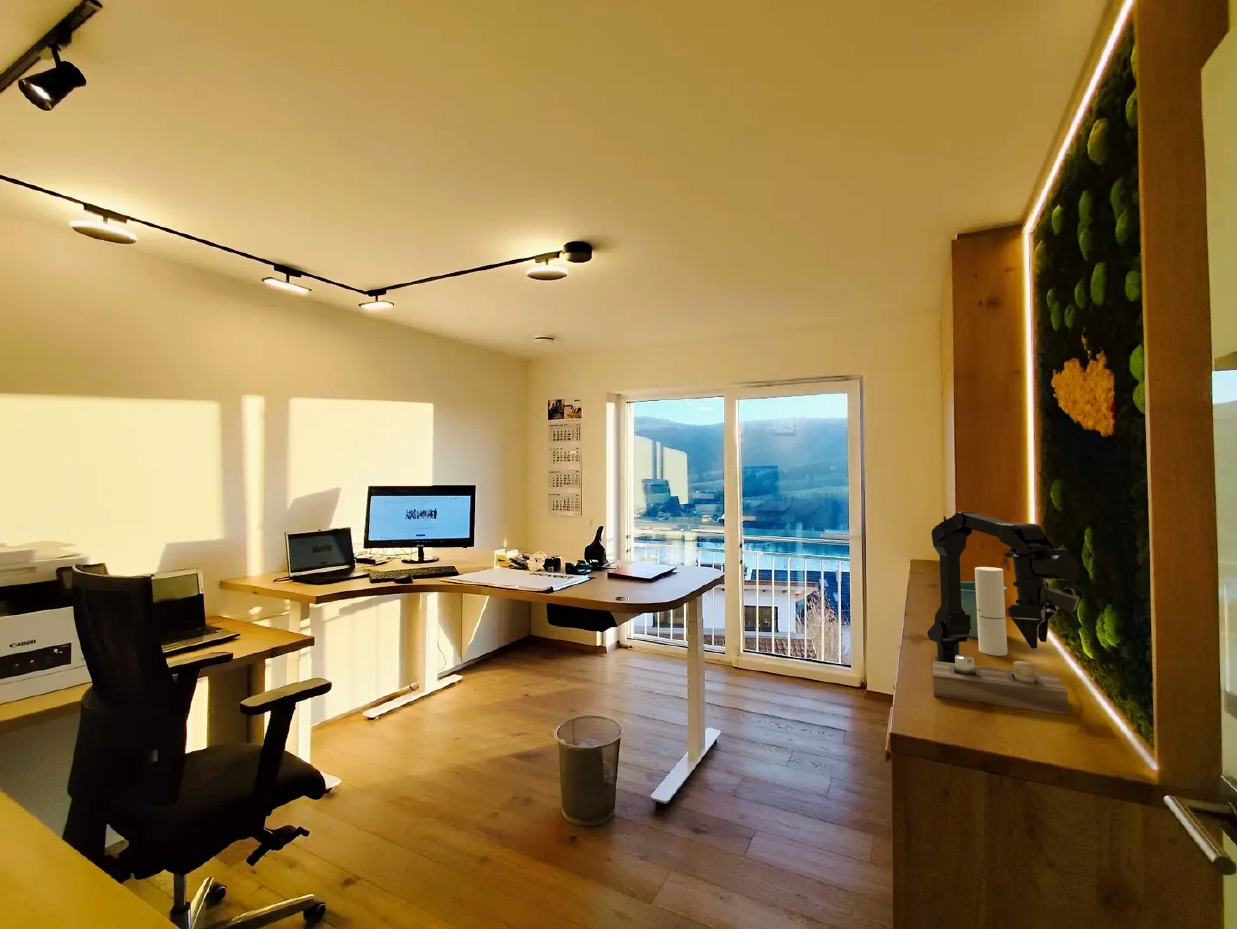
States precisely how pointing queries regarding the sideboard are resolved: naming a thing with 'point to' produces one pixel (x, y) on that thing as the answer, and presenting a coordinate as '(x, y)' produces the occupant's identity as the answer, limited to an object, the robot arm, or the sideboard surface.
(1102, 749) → the sideboard surface
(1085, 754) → the sideboard surface
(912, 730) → the sideboard surface
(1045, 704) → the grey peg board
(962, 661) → the metal peg
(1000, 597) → the cylindrical container
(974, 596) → the flower pot
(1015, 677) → the beech peg
